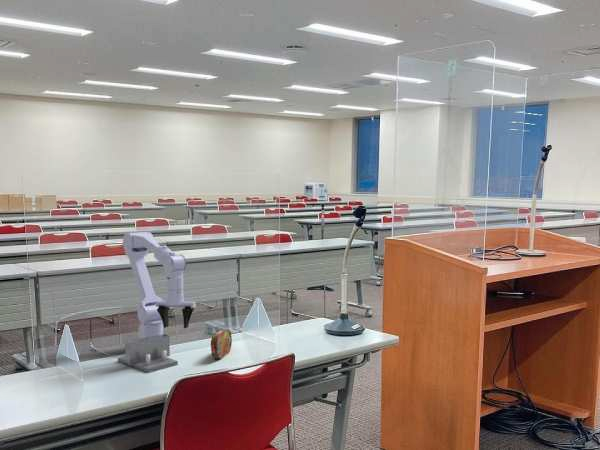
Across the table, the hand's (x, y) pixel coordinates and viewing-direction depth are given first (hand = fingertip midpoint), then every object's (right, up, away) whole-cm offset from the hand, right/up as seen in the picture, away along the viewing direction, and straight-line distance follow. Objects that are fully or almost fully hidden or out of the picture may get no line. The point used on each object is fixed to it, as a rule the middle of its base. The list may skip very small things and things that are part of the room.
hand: (176, 327), depth 189 cm
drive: (-7, -9, -10) cm, 15 cm away
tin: (+16, -10, -2) cm, 19 cm away
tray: (-7, -10, -11) cm, 16 cm away
